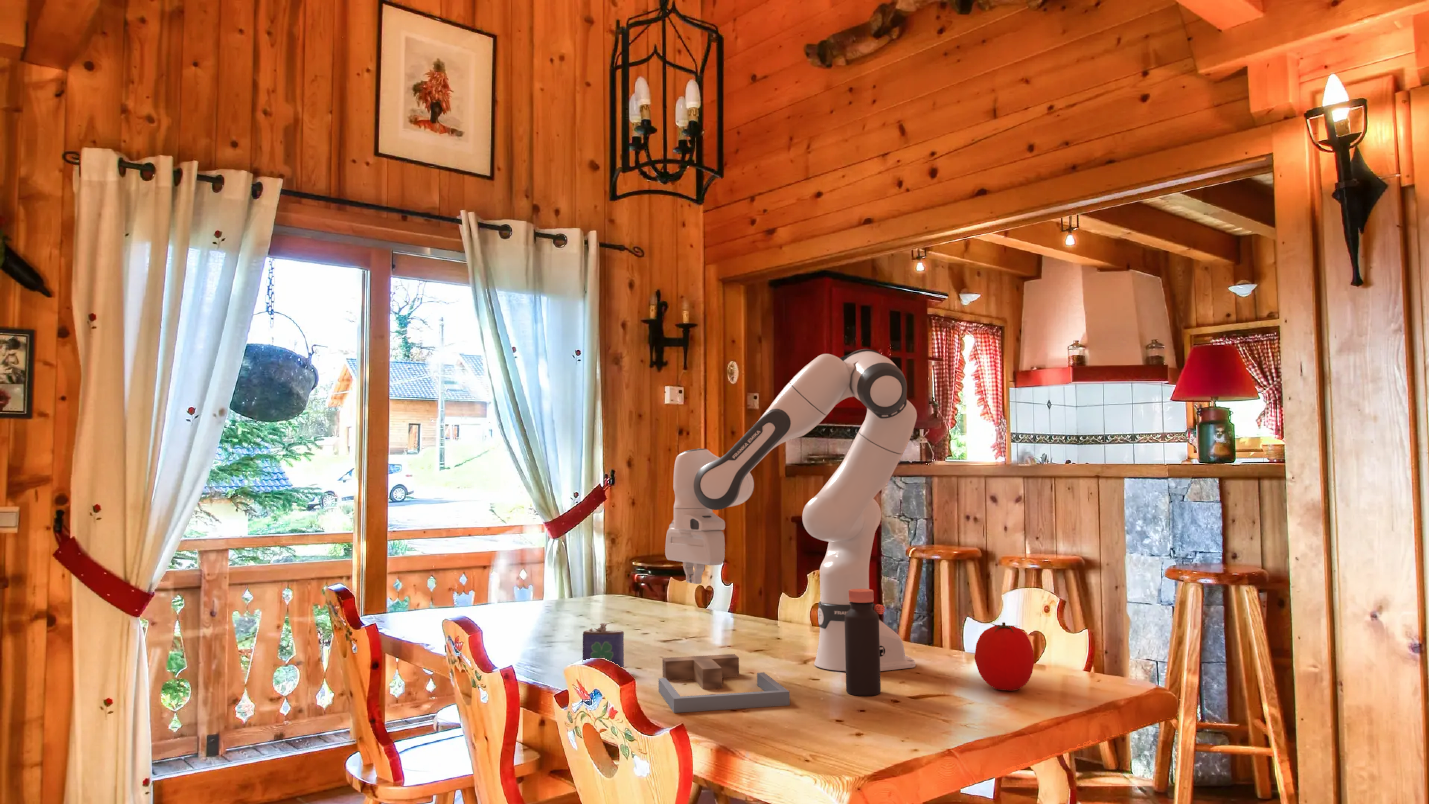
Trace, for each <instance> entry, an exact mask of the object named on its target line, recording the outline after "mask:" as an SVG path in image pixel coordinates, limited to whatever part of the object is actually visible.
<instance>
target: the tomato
mask: <svg viewBox="0 0 1429 804" xmlns="http://www.w3.org/2000/svg"><path fill="white" fill-rule="evenodd" d="M987 623H989V624H991V625H993V626H990V627H989V628H987V629H985V630H984V631H983V632H982V633H981V634H980V635H979V637H978V639H977V640H976V641H977V642H976V645H975V650H974V662H975V665H976V668H977V671H978V674H979V675H980V677H981V679H982V680H983V681H984V682H985V683H986V684H988V685H989V686H990V687H992V688H994V689H995V690H1002V691H1009V692H1013V691H1016V690H1019V689H1021V688H1023V687H1024V686H1026V684H1027V683H1028V682H1029V680H1030V679H1031V677H1032V674H1033V670H1034V667H1035V657H1034V655H1035V654H1034V649H1033V646H1032V642H1031V640H1030V638H1029V637H1028V635H1027V634H1026V632H1024V631H1023V630H1022V629H1021V628H1020V627H1019V628H1018V627H1017V626H1015V625H1006V622H1005V621H1003V622H1001V624H994V623H993V622H990V621H987Z"/></svg>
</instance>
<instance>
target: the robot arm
mask: <svg viewBox="0 0 1429 804" xmlns="http://www.w3.org/2000/svg"><path fill="white" fill-rule="evenodd" d="M907 392H908V385H907V379H906V378H905V375H904V373H903V371H902V370H901V369H900V368H899V367H898V366H897V365H896V364H895V363H894V362H893V360H891V359H890V358H888V357H887V356H885V355H883V354H882V353H880V352H879V351H876V350H875V349H871V348H870V349H869V348H863V349H858V350H855V351H853V352H851V353H848V354H846V355H843V356H840V357H838V356H836V355H834V354H830V353H822V354H820V355H817V357H815V358H814V359H813V360H811V361H810V362H809V363H808V364H806V365H805V366H804V367H803V368H802V369H801V370H799V371H798V372H797V373H796V374H795V375H794V376H793V377H792V379H791V380H789V382H788V383H787V384H786V385H785V386H784V387H783V389H782V390H781V391H780V392H779V393H778V395H777V396H776V397H775V399H774V400H773V401H772V403H771V404H770V406H769V407H768V408H767V409H766V410H765V412H764V413H763V414H762V415H761V416H760V418H759V419H758V421H756V422H755V424H753V426H752V427H751V428H750V429H748V431H747V432H746V433H745V434H743V436H742V437H741V438H740V439H739V440H738V441H737V442H736V443H735V444H734V445H733V446H732V447H731V448H730V449H729V450H728V451H727V452H726V453H725V454H724V455H723V456H720V457H719V456H717V455H715V454H714V453H712V452H711V451H710V450H709V449H707V448H696V449H695V448H694V449H689V450H684V451H683V452H680V453H679V454H678V455H677V456H676V457H675V461H674V466H673V467H674V468H673V483H672V484H673V485H672V487H673V491H674V493H673V494H674V503H673V519H672V520H671V523H670V524H669V525H668V529H667V531H666V537H665V545H664V548H665V549H664V553H665V554H664V555H665V557H666V559H667V560H668V561H674V562H675V561H676V562H682V567H683V571H684V574H685V581H686V583H689V584H695V585H699V584H702V583H703V582H702V581H703V579H702V577H703V573H704V571H705V567H706V566H721V565H722V564H723V563H724V561H725V557H726V556H725V555H726V553H725V552H726V549H725V548H726V542H725V534H724V530H725V528H726V522H725V520H724V519H723V518H721V517H719V516H718V515H717V514H716V513H715V512H713V511H720V510H723V509H726V508H730V507H735V506H739V505H741V504H743V503H745V502H747V501H748V500H749V499H750V498H751V497H752V495H753V492H754V490H755V480H754V477H753V474H752V473H751V471H752V470H753V469H754V468H755V467H756V466H757V465H758V464H759V463H760V462H761V461H762V460H763V459H764V458H765V457H766V456H767V455H768V454H769V453H770V452H771V451H773V449H775V448H777V447H778V446H779V445H781V444H784V443H785V442H788V441H791V440H794V439H798V438H801V437H803V436H805V435H807V434H808V433H809V432H811V431H812V430H813V429H815V427H817V426H818V425H819V424H820V423H821V422H823V420H824V419H825V418H826V417H827V416H828V415H829V414H830V412H831V411H833V409H834V407H836V405H838V404H839V403H840V402H842V401H843V400H845V399H848V398H853V397H854V398H855V399H857V400H858V401H860V402H861V404H863V405H864V406H865V408H866V415H865V418H864V421H863V422H862V424H861V426H860V428H859V430H858V432H857V433H856V435H855V438H854V439H853V440H852V443H851V446H850V447H849V449H848V451H847V453H846V455H845V456H844V458H843V460H842V462H840V465H839V466H838V468H837V469H835V471H834V473H833V474H832V475H830V478H829V479H828V481H826V483H825V484H824V486H823V487H822V488H821V489H820V491H819V492H818V493H817V494H816V495H815V496H813V497H812V498H811V499H810V500H809V501H808V502H807V503H806V504H805V505H804V507H803V511H802V516H801V518H802V524H803V527H804V529H805V530H806V532H807V533H808V534H809V535H810V536H811V537H813V538H814V539H817V540H820V541H824V542H828V544H827V549H826V553H825V556H824V558H823V560H822V562H821V564H820V566H819V593H820V594H819V596H820V597H819V598H820V599H819V602H818V609H817V618H818V619H817V620H818V626H819V635H818V644H817V645H818V646H817V650H816V657H815V660H814V662H813V664H814V666H816V667H817V668H820V669H825V670H828V671H829V670H830V671H839V672H840V671H841V672H846V661H845V615H846V613H847V612H848V611H849V610H850V609H851V604H849V602H850V601H849V590H851V589H870V561H871V556H872V555H871V554H872V549H873V543H874V539H875V535H876V534H875V533H876V531H877V529H878V527H879V525H880V523H881V520H882V510H881V506H880V505H879V503H878V502H877V500H876V499H875V497H876V496H877V495H878V493H880V491H881V490H882V489H884V488H885V487H886V486H887V485H888V483H889V482H890V480H891V478H892V476H893V473H894V472H895V470H896V468H897V466H898V464H899V463H900V460H901V458H902V457H903V455H904V454H905V450H906V449H907V447H908V444H909V442H910V439H911V437H912V435H913V432H914V428H915V425H916V423H917V418H918V414H917V409H916V407H915V406H914V405H913V404H912V403H911V401H909V400H908V399H907V398H908V397H907ZM872 609H873V610H874V611H875V612H876V613H877V614H878V615H883V614H884V612H885V611H886V607H885V606H884V605H883V604H879V603H877V604H876V603H873V604H872ZM879 640H880V672H883V671H891V670H892V671H894V670H901V669H911V668H912V669H913V668H915V667H916V661H915V660H914V659H913V658H912V657H909V656H907V655H906V652H905V647H904V646H905V645H904V643H903V640H902V638H901V636H900V635H899V634H898V633H897V632H895V631H894V630H893V629H892V628H891V627H889V626H888V625H886V623H884V622H883V621H882V620H881V619H879Z"/></svg>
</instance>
